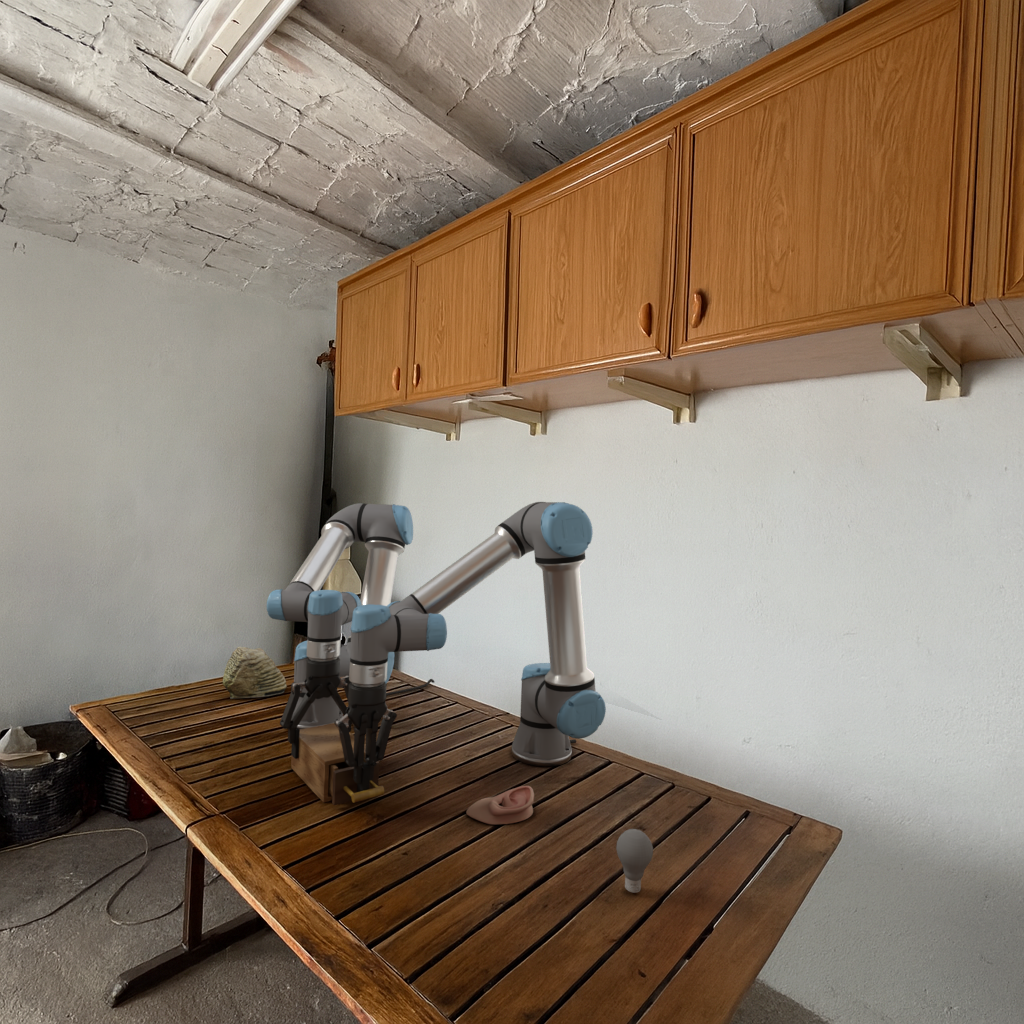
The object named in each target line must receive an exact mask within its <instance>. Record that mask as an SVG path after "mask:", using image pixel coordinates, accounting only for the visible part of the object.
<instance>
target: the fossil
mask: <svg viewBox="0 0 1024 1024" xmlns="http://www.w3.org/2000/svg"><path fill="white" fill-rule="evenodd" d="M222 676H223V677H222V685H223V687H224V688H225V690H226V691H228V693H229V698H230V699H250V698H264V697H271V696H275V695H281V694H284V693H285V691H286V689H287V687H288V686H287V680H286V678H285V676H284V674H283V673H282V672H281V669H279V668H278V667H277V665H276V663H275V662H274V660H273V659H272V658H271V657H270V656H269V655H268V654H267V653H266V652H265V650H264V649H263V648H260V647H258V648H251V647H247V646H246V647H245V646H238V647H237V648H236V649H235V650H233V651H232V653H231V656H230V657H229V659H228V660H227V663H226V666H225V668H224V671H223V675H222Z"/></svg>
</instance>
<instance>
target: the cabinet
mask: <svg viewBox="0 0 1024 1024" xmlns="http://www.w3.org/2000/svg"><path fill="white" fill-rule="evenodd" d="M349 734H350V739H351V744H352V749H353V754H354V734H353V733H352V732H349ZM365 749H366V743H365V745H364V757H365ZM344 761H345V759H344V754H343V749H342V744H341V739H340V734H339V730H338V728H337V727H336V725H335V724H334V723H332V724H327V725H321V726H316V727H311V728H305V729H300V736H299V758H297V759H295V758H294V757H293V756H292V755H291V761H290V762H291V763H290V769H292V770H293V772H294V773H295V775H297V776H298V777H299V778H300V779H301V780H302V781H303V782H304V784H305V785H307V786H308V788H309V789H310V790H311V791H312V792H313V793H314V794H315V795H316V796H317V798H318V799H320V801H321V802H322V803H328V802H332V796H331V795H330V794H329V793H328V780H329V765H331V764H335V763H339V762H344Z"/></svg>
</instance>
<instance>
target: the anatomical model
mask: <svg viewBox="0 0 1024 1024" xmlns="http://www.w3.org/2000/svg"><path fill="white" fill-rule="evenodd" d="M534 801H535V793H534V789H533V788H532V786H530V785H521V786H517V787H515V788H512V789H511V788H510V789H508V790H506V791H504V792H502V793H500V794H498V795H495V796H491V797H485V798H482V799H479V800H477V801H476V802H474V803H472V804H471V805H470V806H469V807H468V808H467V810H466V812H465V813H466V815H467V816H468V817H470V818H472V819H474V820H476V821H478V822H481V823H484V824H487V825H508V824H514V823H518V822H522V821H525V820H527V819H529V818H530V817H532V815H533V813H534V808H533V803H534Z"/></svg>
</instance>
